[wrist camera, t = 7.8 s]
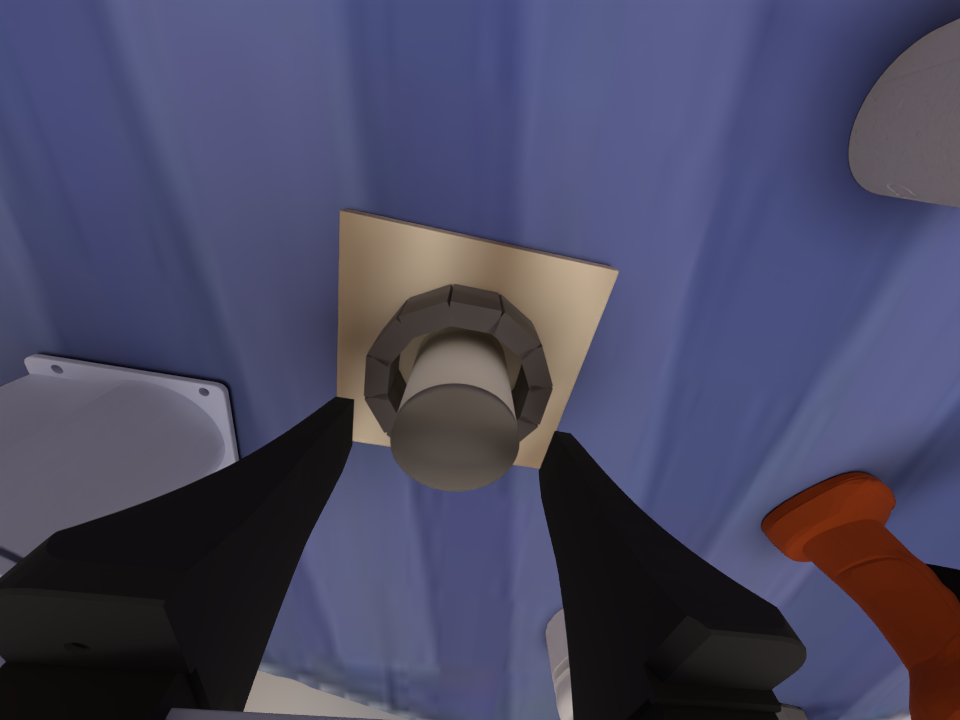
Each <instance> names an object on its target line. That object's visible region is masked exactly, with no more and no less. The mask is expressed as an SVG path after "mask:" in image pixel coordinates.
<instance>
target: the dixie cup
mask: <svg viewBox="0 0 960 720" xmlns="http://www.w3.org/2000/svg"><path fill="white" fill-rule="evenodd" d="M848 154H849V165H850V169H851V172H852V174H853V176H854V178H855V180H856V181H857V183H858V184H859V185H860V186H861V187H863V188H864V189H866V190H867V191H869V192H872V193H875V194H879V195H885V196H891V197H897V198H903V199H909V200H915V201H922V202H927V203H934V204H940V205H946V206H952V207H958V208H960V19H958V20H955V21H953V22H951V23H949V24H946V25H944V26H942V27H940V28H938V29H936V30H934V31H932V32H930V33H929V34H927V35H926V36H924V37H922V38H921V39H920V40H918V41H917V42H915V43H914V44H913V45H912V46H910V47H909V48H908V49H907V50H906V51H904V52H903V53H902V54H901V55H900V56H899V57H898V58H897V59H896V60H895V61H894V62H893V63H892V64H891V65H890V66H889V67H888V68H887V69H886V71H885V72H884V73H883V74H882V75H881V77H880V78H879V79H878V81H877V82H876V83H875V85H874V86H873V88H872V89H871V91H870V92H869V94H868V95H867V97H866V99H865V101H864V102H863V104H862V106H861V108H860V110H859V112H858V115H857V117H856V120H855V122H854V125H853V129H852V132H851V136H850V142H849V152H848Z"/></svg>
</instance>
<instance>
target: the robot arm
mask: <svg viewBox="0 0 960 720" xmlns="http://www.w3.org/2000/svg"><path fill="white" fill-rule="evenodd" d="M24 362H25V365H26V368H27V370H28V372H29V375H26V376H24V377H22V378H19V379H17V380H15V381H12V382H10V383H8V384H5V385H3V386H1V387H0V720H379V719H363V718H345V717H326V716H308V715H290V714H273V713H254V712H243V710H244V708H245V704H246V701H247V699H248V696H249V693H250V690H251V687H252V685H253V681H254V679H255V676H256V673H257V670H258V668H259V665H260V662H261V659H262V656H263V653H264V651H265V648H266V645H267V643H268V640H269V637H270V634H271V632H272V629H273V626H274V624H275V621H276V618H277V616H278V613H279V610H280V608H281V605H282V602H283V600H284V597H285V595H286V592H287V590H288V587H289V584H290V582H291V579H292V577H293V574H294V572H295V569H296V567H297V564H298V562H299V559H300V557H301V554H302V552H303V549H304V547H305V545H306V542H307V540H308V538H309V536H310V534H311V532H312V530H313V528H314V526H315V524H316V522H317V520H318V518H319V516H320V514H321V512H322V510H323V508H324V506H325V505H326V503H327V501H328V499H329V497H330V495H331V493H332V491H333V489H334V487H335V485H336V483H337V481H338V479H339V477H340V475H341V473H342V471H343V469H344V466H345V463H346V461H347V458H348V455H349V452H350V450H351V447H352V440H353V418H354V399H349V398H343V397H335V398H333V399H332V400H330V401H329V402H328V403H326V404H325V405H323V406H322V407H321V408H319V409H318V410H317V411H315V412H314V413H313V414H311V415H310V416H309V417H307V418H306V419H304V420H303V421H301V422H300V423H299V424H297V425H296V426H294V427H293V428H291V429H290V430H289V431H287V432H286V433H284V434H282V435H281V436H279V437H278V438H276V439H275V440H273V441H271V442H270V443H268V444H267V445H265V446H263V447H262V448H260V449H258V450H257V451H255V452H253V453H251V454H250V455H248V456H246V457H244V458H242V459H240V460H239V457H238V450H237V444H236V438H235V431H234V425H233V419H232V413H231V406H230V400H229V394H228V390H227V388H226V387H225V386H224V385H223V384H221V383H218V382H212V381H206V380H199V379H193V378H187V377H180V376H174V375H168V374H162V373H155V372H149V371H143V370H136V369H130V368H124V367H117V366H111V365H105V364H99V363H92V362H86V361H80V360H73V359H67V358H61V357H54V356H48V355H42V354H34V355H31V356H29V357H27V358H25V360H24ZM205 389H207V390H208V391H209V392H208V391H206V390H205ZM539 480H540V490H541V498H542V503H543V507H544V512H545V516H546V520H547V525H548V529H549V533H550V537H551V541H552V546H553V550H554V554H555V558H556V563H557V568H558V573H559V580H560V588H561V595H562V602H563V610H564V619H565V627H566V636H567V646H568V657H569V668H570V679H571V693H572V708H573V720H779V719H778V717H777V715H776V713H779V712H780V711H782V710H781V705H780V703H779V701H778V700H777V698H776V696H775V695H774V693H773V691H772V690H771V689H773V688H774V687H776V686H777V685H778V684H780V683H781V682H782V681H784V680H785V679H787V678H788V677H789V676H791V675H792V674H793V673H795V672H796V671H797V670H798V669H799V668H800V667H801V666H802V665H803V663H804V662H805V660H806V648H805V646H804V645H803V643H802V642H801V640H800V639H799V638H798V636H797V635H796V633H795V632H794V631H793V629H792V628H791V626H790V625H789V624H788V622H787V621H786V619H785V618H784V616H783V615H782V614H781V612H780V611H779V609H778V608H777V607H775V606H774V605H772V604H771V603H769V602H767V601H766V600H764V599H763V598H761V597H759V596H758V595H756V594H755V593H753V592H751V591H750V590H748V589H746V588H745V587H743V586H742V585H740V584H738V583H737V582H735V581H734V580H732V579H731V578H729V577H728V576H726V575H725V574H723V573H722V572H720V571H719V570H717V569H716V568H715V567H713V566H712V565H710V564H709V563H707V562H706V561H704V560H703V559H702V558H700V557H699V556H698V555H696V554H695V553H693V552H692V551H691V550H689V549H688V548H687V547H686V546H684V545H683V544H682V543H681V542H679V541H678V540H677V539H675V538H674V537H673V536H672V535H670V534H669V533H668V532H667V531H665V530H664V529H663V528H662V527H661V526H659V525H658V524H657V523H656V522H655V521H654V520H653V519H652V518H650V517H649V516H648V515H647V514H646V513H645V512H644V511H643V510H641V509H640V508H639V507H638V506H637V505H636V504H635V503H634V502H633V501H632V500H631V499H630V498H629V497H628V496H627V495H626V494H625V493H624V492H623V491H622V490H621V489H620V488H619V487H618V486H617V485H616V484H615V483H614V482H613V481H612V480H611V478H610V477H609V476H608V475H607V474H606V473H605V472H604V471H603V470H602V468H601V467H600V466H599V465H598V464H597V463H596V462H595V461H594V459H593V458H592V457H591V456H590V455H589V454H588V452H587V451H586V450H585V449H584V448H583V447H582V446H581V444H580V443H579V442H578V441H577V440H576V439H575V438H574V437H573V436H572V435H571V433H565V432H558V431H554V434H553V436H552V439H551V441H550V444H549V446H548V449H547V452H546V454H545V457H544V459H543V462H542V464H541V467H540V469H539ZM380 720H381V719H380Z"/></svg>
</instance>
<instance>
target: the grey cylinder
mask: <svg viewBox="0 0 960 720" xmlns="http://www.w3.org/2000/svg"><path fill="white" fill-rule="evenodd" d="M519 442H520V440H519V433H518V427H517V422H516V416H515V410H514V405H513V399H512V393H511V388H510V382H509V376H508V371H507V365H506V359H505V354H504V350H503V348H502V346H501V344H500V342H499V341H498V339H497V338H496V337H495V336H494V335H492V334H490V333H485V332H480V331H475V330H469V329H464V328H459V327H453V326H450V327H447V328H444V329H441V330H437V331H434V332H431V333H429V334H428V335H427V336H426V337H425V339H424V340H423V341H422V343H421V345H420V347H419V350H418V353H417V356H416V359H415V362H414V365H413V368H412V371H411V374H410V377H409V380H408V383H407V386H406V389H405V392H404V395H403V398H402V401H401V404H400V407H399V410H398V413H397V416H396V419H395V421H394V424H393V428H392V431H391V436H390V445H391V450H392V453H393V456H394V458H395V460H396V462H397V464H398V465H399V466H400V467H401V469H402V470H403V471H404V472H405V473H406V474H407V475H409V476H410V477H411V478H413V479H414V480H416V481H418V482H419V483H422V484H424V485H426V486H429V487H431V488H435V489H439V490H445V491H467V490H473V489H478V488H481V487H484V486H486V485H489V484H491V483H493V482H494V481H496V480H498V479H499V478H500V477H502V476H503V475H504V474H505V473H506V472H507V471H508V470H509V469H510V468H511V466H512V465H513V463H514V462H515V460H516V457H517V455H518V451H519Z"/></svg>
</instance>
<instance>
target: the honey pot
mask: <svg viewBox="0 0 960 720" xmlns="http://www.w3.org/2000/svg"><path fill="white" fill-rule="evenodd" d="M545 634H546V640H547V647H548V653H549V659H550V666H551V672H552V678H553V682H554V690H555V694H556V704H557V708H558V712H559V715H560V719H561V720H573V708H572V693H571V679H570V668H569V657H568V646H567V636H566V627H565V619H564V610H563V609H562V610H560V611H559V612H557V613H556V614H555V615H554V616H553V618H552V619H551V620H550V621H549V623H548V625H547V629H546V632H545Z"/></svg>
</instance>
